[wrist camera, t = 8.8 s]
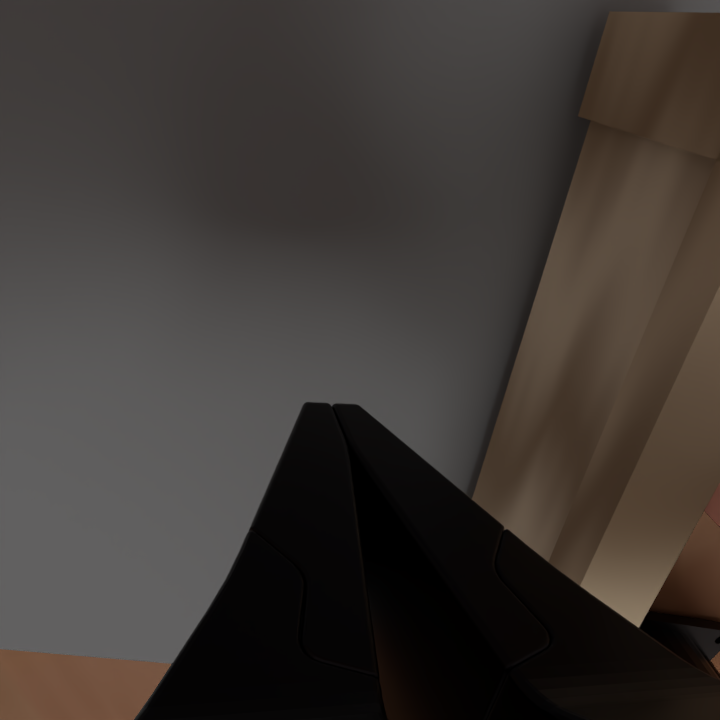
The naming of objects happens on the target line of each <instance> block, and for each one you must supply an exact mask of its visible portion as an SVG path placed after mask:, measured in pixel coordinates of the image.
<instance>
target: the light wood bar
mask: <svg viewBox="0 0 720 720" xmlns="http://www.w3.org/2000/svg"><path fill="white" fill-rule="evenodd" d="M578 116H579V117H582V118H585V119H588V120H591V121H590V124H589V128H588V131H587V134H586V137H585V140H584V144H583V147H582V150H581V153H580V156H579V159H578V163H577V166H576V169H575V172H574V175H573V179H572V182H571V185H570V188H569V191H568V195H567V198H566V201H565V204H564V207H563V210H562V214H561V217H560V220H559V223H558V226H557V230H556V233H555V236H554V239H553V242H552V246H551V249H550V252H549V255H548V258H547V262H546V265H545V268H544V271H543V274H542V277H541V281H540V284H539V287H538V290H537V293H536V297H535V300H534V303H533V306H532V309H531V313H530V316H529V319H528V322H527V325H526V328H525V332H524V335H523V338H522V341H521V344H520V348H519V351H518V354H517V357H516V360H515V364H514V367H513V370H512V373H511V376H510V379H509V383H508V386H507V389H506V392H505V395H504V399H503V402H502V405H501V408H500V411H499V415H498V418H497V421H496V424H495V427H494V430H493V434H492V437H491V440H490V443H489V446H488V450H487V453H486V456H485V459H484V462H483V466H482V469H481V472H480V475H479V478H478V482H477V485H476V488H475V491H474V494H473V497H472V500H473V501H475V502H476V503H477V504H478V505H479V506H481V507H482V508H483V509H484V510H485V511H487V512H488V513H489V514H490V515H491V516H493V517H494V518H495V519H496V520H497V521H499V522H500V523H501V524H502V525H503V526H504V530H505V529H508V530H510V531H511V532H512V533H513V534H514V535H516V536H517V537H518V538H519V539H520V540H522V541H523V542H524V543H525V544H526V545H528V546H529V547H530V548H531V549H533V550H534V551H535V552H536V553H538V554H539V555H540V556H541V557H543V558H544V559H545V560H546V561H548V562H549V563H550V564H552V565H553V566H554V567H555V568H557V569H558V570H559V571H561V572H562V573H563V574H565V575H566V576H567V577H569V578H570V579H571V580H573V581H574V582H575V583H577V584H578V585H580V586H581V587H582V588H584V589H585V590H586V591H588V592H589V593H590V594H592V595H593V596H595V597H596V598H597V599H599V600H600V601H602V602H603V603H604V604H606V605H607V606H609V607H610V608H612V609H613V610H614V611H616V612H617V613H619V614H620V615H621V616H623V617H624V618H626V619H627V620H628V621H630V622H631V623H633V624H634V625H636V626H637V627H638V628H639V627H640V625H641V623H642V621H643V620H644V618H645V616H646V614H647V612H648V611H649V609H650V607H651V605H652V603H653V602H654V600H655V598H656V596H657V595H658V593H659V591H660V589H661V587H662V586H663V584H664V582H665V580H666V578H667V577H668V575H669V573H670V571H671V569H672V568H673V566H674V564H675V562H676V560H677V559H678V557H679V555H680V553H681V551H682V550H683V548H684V546H685V544H686V542H687V541H688V539H689V537H690V535H691V533H692V532H693V530H694V528H695V526H696V524H697V523H698V521H699V519H700V517H701V515H702V514H703V512H704V510H705V508H706V506H707V505H708V503H709V501H710V499H711V497H712V496H713V494H714V492H715V490H716V488H717V487H718V485H719V483H720V13H699V12H611V11H610V12H609V15H608V18H607V22H606V25H605V28H604V32H603V35H602V38H601V41H600V45H599V48H598V51H597V55H596V58H595V61H594V65H593V68H592V71H591V74H590V78H589V81H588V84H587V88H586V91H585V94H584V98H583V101H582V104H581V107H580V111H579V114H578Z"/></svg>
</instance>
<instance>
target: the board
mask: <svg viewBox="0 0 720 720" xmlns="http://www.w3.org/2000/svg"><path fill="white" fill-rule="evenodd" d="M610 11H611V12H699V13H720V0H0V649H6V650H18V651H30V652H42V653H53V654H65V655H77V656H89V657H101V658H112V659H124V660H136V661H148V662H159V663H171V664H172V663H173V661H174V660H175V658H176V657H177V655H178V654H179V652H180V651H181V649H182V648H183V646H184V645H185V643H186V642H187V640H188V639H189V637H190V635H191V634H192V632H193V631H194V629H195V628H196V626H197V625H198V623H199V622H200V620H201V619H202V617H203V616H204V614H205V613H206V611H207V609H208V608H209V606H210V604H211V603H212V601H213V599H214V598H215V596H216V594H217V593H218V591H219V589H220V588H221V586H222V584H223V583H224V581H225V579H226V577H227V575H228V573H229V571H230V569H231V567H232V565H233V563H234V561H235V559H236V557H237V555H238V553H239V550H240V548H241V546H242V544H243V541H244V539H245V537H246V534H247V533H248V532H249V528H250V526H251V524H252V521H253V519H254V517H255V515H256V512H257V510H258V508H259V505H260V503H261V501H262V498H263V496H264V494H265V491H266V489H267V487H268V484H269V482H270V480H271V478H272V475H273V473H274V471H275V468H276V466H277V464H278V461H279V459H280V457H281V454H282V452H283V450H284V447H285V445H286V443H287V441H288V438H289V436H290V434H291V431H292V429H293V427H294V424H295V422H296V420H297V417H298V415H299V413H300V411H301V408H302V406H303V404H304V403H306V402H321V403H329V404H330V405H331V406H332V405H333V404H335V403H344V404H357V405H359V406H361V407H362V408H363V409H364V410H366V411H367V412H368V413H369V414H370V415H372V416H373V417H374V418H375V419H376V420H378V421H379V422H380V423H381V424H382V425H384V426H385V427H386V428H387V429H388V430H390V431H391V432H392V433H393V434H394V435H396V436H397V437H398V438H399V439H400V440H402V441H403V442H404V443H405V444H406V445H408V446H409V447H410V448H411V449H412V450H414V451H415V452H416V453H417V454H418V455H420V456H421V457H422V458H423V459H424V460H426V461H427V462H428V463H429V464H430V465H432V466H433V467H434V468H435V469H436V470H438V471H439V472H440V473H441V474H442V475H443V476H445V477H446V478H447V479H448V480H449V481H451V482H452V483H453V484H454V485H455V486H457V487H458V488H459V489H460V490H461V491H463V492H464V493H465V494H466V495H467V496H469V497H470V498H471V499H472V497H473V494H474V491H475V488H476V485H477V482H478V478H479V475H480V472H481V469H482V466H483V462H484V459H485V456H486V453H487V450H488V446H489V443H490V440H491V437H492V434H493V430H494V427H495V424H496V421H497V418H498V415H499V411H500V408H501V405H502V402H503V399H504V395H505V392H506V389H507V386H508V383H509V379H510V376H511V373H512V370H513V367H514V364H515V360H516V357H517V354H518V351H519V348H520V344H521V341H522V338H523V335H524V332H525V328H526V325H527V322H528V319H529V316H530V313H531V309H532V306H533V303H534V300H535V297H536V293H537V290H538V287H539V284H540V281H541V277H542V274H543V271H544V268H545V265H546V262H547V258H548V255H549V252H550V249H551V246H552V242H553V239H554V236H555V233H556V230H557V226H558V223H559V220H560V217H561V214H562V210H563V207H564V204H565V201H566V198H567V195H568V191H569V188H570V185H571V182H572V179H573V175H574V172H575V169H576V166H577V163H578V159H579V156H580V153H581V150H582V147H583V144H584V140H585V137H586V134H587V131H588V128H589V124H590V121H591V120H588V119H585V118H582V117H579V116H578V114H579V111H580V107H581V104H582V101H583V98H584V94H585V91H586V88H587V84H588V81H589V78H590V74H591V71H592V68H593V65H594V61H595V58H596V55H597V51H598V48H599V45H600V41H601V38H602V35H603V32H604V28H605V25H606V22H607V18H608V15H609V12H610Z"/></svg>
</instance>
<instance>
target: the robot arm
mask: <svg viewBox="0 0 720 720" xmlns="http://www.w3.org/2000/svg"><path fill="white" fill-rule="evenodd" d="M719 651H720V622H713V621H707V620H700V619H694V618H687V617H681V616H674V615H668V614H661V613H655V612H647V614H646V616H645V618H644V620H643V621H642V623H641V625H640V627H639V628H638V627H637V626H636V625H634V624H633V623H631V622H630V621H628V620H627V619H626V618H624V617H623V616H621V615H620V614H619V613H617V612H616V611H614V610H613V609H612V608H610V607H609V606H607V605H606V604H604V603H603V602H602V601H600V600H599V599H597V598H596V597H595V596H593V595H592V594H590V593H589V592H588V591H586V590H585V589H584V588H582V587H581V586H580V585H578V584H577V583H575V582H574V581H573V580H571V579H570V578H569V577H567V576H566V575H565V574H563V573H562V572H561V571H559V570H558V569H557V568H555V567H554V566H553V565H552V564H550V563H549V562H548V561H546V560H545V559H544V558H543V557H541V556H540V555H539V554H538V553H536V552H535V551H534V550H533V549H531V548H530V547H529V546H528V545H526V544H525V543H524V542H523V541H522V540H520V539H519V538H518V537H517V536H516V535H514V534H513V533H512V532H511V531H510V530H508V529H505V530H504V526H503V525H502V524H501V523H500V522H499V521H497V520H496V519H495V518H494V517H493V516H491V515H490V514H489V513H488V512H487V511H485V510H484V509H483V508H482V507H481V506H479V505H478V504H477V503H476V502H475V501H473V500H472V499H471V498H470V497H469V496H467V495H466V494H465V493H464V492H463V491H461V490H460V489H459V488H458V487H457V486H455V485H454V484H453V483H452V482H451V481H449V480H448V479H447V478H446V477H445V476H443V475H442V474H441V473H440V472H439V471H438V470H436V469H435V468H434V467H433V466H432V465H430V464H429V463H428V462H427V461H426V460H424V459H423V458H422V457H421V456H420V455H418V454H417V453H416V452H415V451H414V450H412V449H411V448H410V447H409V446H408V445H406V444H405V443H404V442H403V441H402V440H400V439H399V438H398V437H397V436H396V435H394V434H393V433H392V432H391V431H390V430H388V429H387V428H386V427H385V426H384V425H382V424H381V423H380V422H379V421H378V420H376V419H375V418H374V417H373V416H372V415H370V414H369V413H368V412H367V411H366V410H364V409H363V408H362V407H361V406H359V405H357V404H344V403H335V404H333V405H332V406H331V405H330V404H329V403H321V402H306V403H304V404H303V406H302V408H301V411H300V413H299V415H298V417H297V420H296V422H295V424H294V427H293V429H292V431H291V434H290V436H289V438H288V441H287V443H286V445H285V447H284V450H283V452H282V454H281V457H280V459H279V461H278V464H277V466H276V468H275V471H274V473H273V475H272V478H271V480H270V482H269V484H268V487H267V489H266V491H265V494H264V496H263V498H262V501H261V503H260V505H259V508H258V510H257V512H256V515H255V517H254V519H253V521H252V524H251V526H250V528H249V532H248V533H247V534H246V537H245V539H244V541H243V544H242V546H241V548H240V550H239V553H238V555H237V557H236V559H235V561H234V563H233V565H232V567H231V569H230V571H229V573H228V575H227V577H226V579H225V581H224V583H223V584H222V586H221V588H220V589H219V591H218V593H217V594H216V596H215V598H214V599H213V601H212V603H211V604H210V606H209V608H208V609H207V611H206V613H205V614H204V616H203V617H202V619H201V620H200V622H199V623H198V625H197V626H196V628H195V629H194V631H193V632H192V634H191V635H190V637H189V639H188V640H187V642H186V643H185V645H184V646H183V648H182V649H181V651H180V652H179V654H178V655H177V657H176V658H175V660H174V661H173V663H172V665H171V666H170V668H169V669H168V671H167V672H166V674H165V675H164V677H163V678H162V680H161V681H160V683H159V684H158V686H157V687H156V689H155V691H154V692H153V694H152V695H151V696H150V698H149V699H148V701H147V702H146V704H145V705H144V707H143V708H142V709H141V711H140V712H139V714H138V715H137V716H136V717H135V719H134V720H720V673H719V672H718V671H717V669H716V668H715V666H714V665H713V664H712V662H711V661H710V660H711V659H712V658H713V657H714V656H715V655H716V654H717V653H718V652H719Z"/></svg>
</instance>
